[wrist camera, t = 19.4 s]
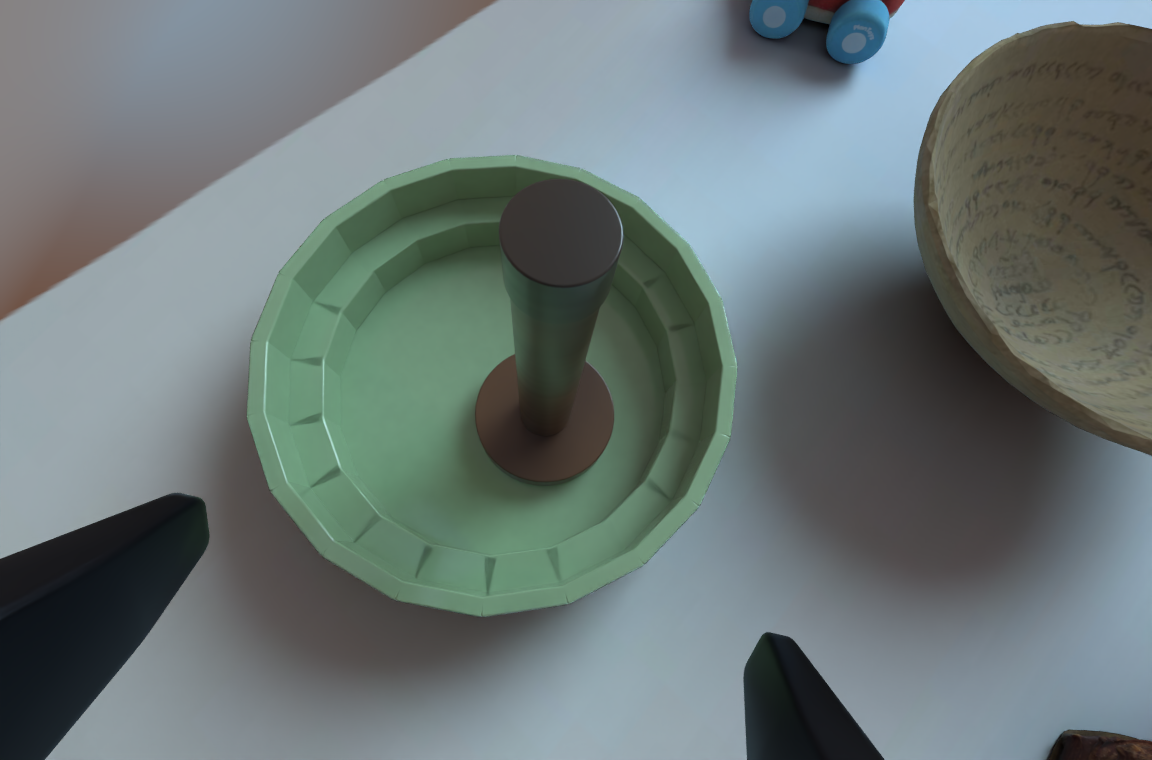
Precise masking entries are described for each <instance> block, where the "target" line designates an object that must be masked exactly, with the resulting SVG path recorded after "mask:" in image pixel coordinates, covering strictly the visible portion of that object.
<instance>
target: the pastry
mask: <svg viewBox="0 0 1152 760" xmlns="http://www.w3.org/2000/svg"><path fill="white" fill-rule="evenodd" d="M1049 760H1152V741H1148V740H1139V739H1136V738H1133V737H1129V736H1125V735H1121V734H1115V733H1109V732H1102V731H1087V730H1067V731H1064V733H1063V735H1062V736H1061V738H1060V739H1059V740H1058V741H1057V743H1056V745H1055V747H1054V749H1053V751H1052V754H1051V756H1050V759H1049Z"/></svg>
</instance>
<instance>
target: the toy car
mask: <svg viewBox="0 0 1152 760" xmlns="http://www.w3.org/2000/svg"><path fill="white" fill-rule="evenodd" d="M903 2H904V0H752V3H751V6H750V14H749V15H750V22H751V24H752V26H753V28H754V29H755V31H756V32H758V33H759V34H760V35H762V36H764V37H767V38H782V37H785V36H787V35H789V34H791V33H792V32H793V31H794V30H796V29H797V28H798V27H799V25H800V24H801V22H802V20H803V18H806V19H809V20H813V21H817V22H821V23H826V24H830V26H829V30H828V34H827V39H826V45H827V50H828V53H829V54H830V56H831V57H832V58H834V59H835V60H837V61H839V62H841V63H846V64H855V63H860V62H863V61H865V60H867V59H869V58H871V57H872V56H873V55H874V54H876V52H877V51H878V50H879V49H880V48H881V46H882V45H883V43H884V41H885V38H886V34H887V29H888V24H889V19H890V18H891V17H892V16H893V15H894V14H895V13H896V12H897V11H898V9H899V7H900V6H901V5H902V3H903Z"/></svg>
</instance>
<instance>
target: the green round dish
mask: <svg viewBox="0 0 1152 760" xmlns="http://www.w3.org/2000/svg"><path fill="white" fill-rule="evenodd" d="M549 179H569V180H575V181H578V182H582V183H584V184H587V185H589V186H591V187H593V188H595V189H596V190H598V191H599V192H601V193H602V194H603V195H604V196H605V197H606V198H608V199H609V201H610V202H611V203H612V204H613V206H614V207H615V209H616V210H617V212H618V214H619V216H620V219H621V222H622V225H623V231H624V241H623V247H622V251H621V254H620V257H619V261H618V264H617V268H616V271H615V274H614V278H613V281H612V285H611V288H610V291H609V294H608V296H607V298H606V300H605V301H604V303H603V304H602V305H601V306H600V309H599V313H598V317H597V320H596V324H595V328H594V331H593V335H592V338H591V342H590V346H589V349H588V353H587V357H586V361H587V362H588V363H590V364H591V365H592V366H593V367H594V368H595V369H596V370H597V371H598V372H599V373H600V375H601V376H602V377H603V379H604V380H605V382H606V384H607V386H608V388H609V390H610V393H611V396H612V400H613V404H614V426H613V431H612V434H611V438H610V440H609V442H608V445H607V446H606V448H605V450H604V451H603V453H602V455H601V456H600V457H599V459H598V460H597V461H596V462H595V464H594V465H593V466H592V467H591V468H590V469H588V470H587V471H586V472H585V473H583V474H582V475H581V476H579V477H577V478H575V479H573V480H571V481H568V482H565V483H562V484H558V485H551V486H537V485H531V484H526V483H523V482H520V481H518V480H516V479H513V478H511V477H510V476H508V475H507V474H505V473H504V472H502V471H501V470H500V469H499V468H498V467H497V466H496V465H495V464H494V463H493V462H492V461H491V459H490V458H489V457H488V455H487V454H486V452H485V450H484V448H483V446H482V444H481V442H480V439H479V436H478V433H477V429H476V424H475V406H476V401H477V396H478V394H479V391H480V388H481V386H482V384H483V382H484V381H485V379H486V378H487V376H488V375H489V373H490V372H491V371H492V370H493V369H494V368H495V367H496V366H497V365H498V364H499V363H501V362H502V361H503V360H505V359H506V358H508V357H509V356H511V355H513V354H515V347H514V336H513V325H512V314H511V302H510V297H509V295H508V293H507V291H506V288H505V285H504V280H503V271H502V262H501V252H500V243H499V222H500V218H501V215H502V213H503V211H504V209H505V207H506V205H507V204H508V203H509V201H510V200H511V199H512V198H513V197H514V196H515V195H516V194H517V193H518V192H519V191H521V190H522V189H524V188H525V187H527V186H529V185H531V184H534V183H536V182H539V181H543V180H549ZM251 341H252V342H251V343H250V360H249V379H248V398H247V420H248V424H249V427H250V430H251V433H252V436H253V440H254V443H255V446H256V449H257V452H258V455H259V459H260V462H261V465H262V468H263V471H264V475H265V478H266V481H267V484H268V487H269V490H270V491H271V493H272V495H273V496H274V497H275V499H276V500H277V501H278V502H279V504H280V505H281V506H282V507H283V509H284V510H285V511H286V512H287V514H288V515H289V516H290V518H291V519H292V520H293V521H294V523H295V524H296V525H297V526H298V528H299V529H300V530H301V531H302V533H303V534H304V535H305V537H306V538H307V539H308V540H309V542H310V543H311V544H312V545H313V547H314V548H315V549H316V550H317V552H318V553H319V554H320V555H322V557H323V558H325V559H326V560H328V561H330V562H331V563H333V564H335V565H336V566H338V567H340V568H341V569H343V570H345V571H346V572H348V573H349V574H351V575H353V576H354V577H356V578H358V579H359V580H361V581H363V582H364V583H366V584H368V585H369V586H371V587H373V588H374V589H376V590H378V591H379V592H381V593H383V594H384V595H386V596H388V597H389V598H391V599H393V600H396V601H399V602H404V603H409V604H414V605H419V606H425V607H430V608H435V609H440V610H445V611H450V612H455V613H461V614H466V615H471V616H476V617H481V616H482V617H488V616H495V615H502V614H509V613H515V612H522V611H529V610H536V609H543V608H549V607H556V606H563V605H567V604H571V603H573V602H575V601H576V600H578V599H580V598H582V597H584V596H586V595H588V594H590V593H592V592H594V591H596V590H598V589H600V588H601V587H603V586H605V585H607V584H609V583H611V582H613V581H615V580H617V579H619V578H621V577H623V576H625V575H626V574H628V573H630V572H632V571H634V570H636V569H638V568H640V567H642V566H643V564H646V563H647V562H648V561H649V560H650V558H651V557H652V556H653V555H654V554H655V553H656V552H657V551H658V550H659V549H660V548H661V547H662V546H663V545H664V544H665V543H666V542H667V541H668V539H669V538H670V537H671V536H672V535H673V534H674V533H675V532H676V531H677V530H678V529H679V528H680V527H681V526H682V525H683V524H684V523H685V522H686V521H687V519H688V518H689V517H690V516H691V515H692V514H693V513H694V512H695V511H696V510H697V509H698V506H700V505H701V502H702V500H703V498H704V496H705V494H706V491H707V489H708V487H709V485H710V483H711V480H712V478H713V476H714V474H715V472H716V469H717V467H718V465H719V463H720V461H721V458H722V456H723V454H724V452H725V450H726V447H727V445H728V443H729V441H730V437H731V430H732V420H733V409H734V399H735V389H736V378H737V361H736V357H735V353H734V348H733V344H732V340H731V335H730V331H729V327H728V322H727V318H726V314H725V309H724V305H723V301H722V298H721V297H720V295H719V293H718V292H717V290H716V288H715V287H714V285H713V283H712V281H711V280H710V278H709V276H708V275H707V273H706V271H705V270H704V268H703V266H702V265H701V263H700V261H699V260H698V258H697V256H696V254H695V253H694V251H693V249H692V248H691V246H690V244H689V243H687V241H686V240H685V239H684V238H682V237H681V236H680V235H679V234H678V233H677V232H676V231H675V230H674V229H673V228H672V227H671V226H669V225H668V224H667V223H666V222H665V221H664V220H663V219H662V218H661V217H660V216H659V215H658V214H656V213H655V212H654V211H653V210H652V209H651V208H650V207H649V206H648V205H647V204H646V203H644V202H643V201H642V200H641V199H640V198H639V197H637V196H635V195H633V194H631V193H629V192H627V191H625V190H623V189H621V188H619V187H617V186H615V185H613V184H611V183H609V182H607V181H605V180H603V179H601V178H599V177H597V176H595V175H593V174H591V173H589V172H588V171H586V170H584V169H580V168H576V167H572V166H567V165H562V164H557V163H552V162H548V161H543V160H538V159H533V158H528V157H524V156H519V155H517V156H515V155H506V156H487V157H468V158H450V159H449V160H448V159H446V160H442V161H439V162H436V163H433V164H430V165H427V166H424V167H421V168H418V169H415V170H412V171H409V172H405V173H402V174H399V175H396V176H393V177H390V178H387V179H384V181H380V182H379V183H377V184H376V185H374V186H373V187H371V188H370V189H368V190H367V191H365V192H364V193H362V194H361V195H359V196H358V197H356V198H355V199H353V200H352V201H350V202H349V203H347V204H346V205H344V206H342V207H341V208H339V209H338V210H336V211H335V212H333V213H332V214H330V215H329V216H327V217H326V218H325V219H323V220H322V221H321V223H320V224H319V225H318V226H317V227H316V229H315V230H314V231H313V232H312V233H311V235H310V236H309V237H308V238H307V239H306V240H305V242H304V243H303V244H302V245H301V246H300V248H299V249H298V250H297V251H296V252H295V253H294V255H293V256H292V257H291V258H290V259H289V261H288V262H287V263H286V264H285V265H284V267H283V268H282V269H281V270H280V271H279V274H278V275H277V278H276V280H275V282H274V285H273V287H272V290H271V292H270V295H269V297H268V299H267V302H266V304H265V307H264V309H263V312H262V314H261V317H260V319H259V321H258V324H257V326H256V329H255V331H254V334H253V336H252V339H251Z"/></svg>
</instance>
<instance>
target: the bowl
mask: <svg viewBox="0 0 1152 760" xmlns="http://www.w3.org/2000/svg"><path fill="white" fill-rule="evenodd" d="M914 218H915V228H916V234H917V241H918V246H919V250H920V253H921V256H922V260H923V263H924V267H925V270H926V272H927V275H928V277H929V279H930V281H931V283H932V285H933V288H934V290H935V292H936V294H937V296H938V298H939V300H940V302H941V304H942V306H943V307H944V309H945V311H946V313H947V315H948V316H949V318H950V319H951V321H952V322H953V324H954V326H955V327H956V329H957V330H958V331H959V332H960V334H961V335H962V336H963V337H964V338H965V340H966V341H967V342H968V343H969V345H970V346H971V347H972V348H973V349H974V350H975V351H976V352H977V353H978V354H979V355H980V356H981V357H982V358H983V359H984V361H985V362H986V363H987V364H988V365H989V366H991V367H992V368H993V369H994V370H995V371H996V372H997V373H998V374H999V375H1000V376H1001V377H1003V378H1004V379H1005V380H1006V381H1007V382H1008V383H1009V384H1010V385H1012V386H1013V387H1015V388H1016V389H1017V390H1019V391H1020V392H1021V393H1023V394H1024V395H1026V396H1027V397H1028V398H1030V399H1031V400H1032V401H1034V402H1035V403H1037V404H1038V405H1040V406H1041V407H1043V408H1045V409H1046V410H1048V411H1050V412H1051V413H1053V414H1055V415H1056V416H1058V417H1060V418H1062V419H1063V420H1065V421H1067V422H1069V423H1071V424H1072V425H1074V426H1076V427H1078V428H1080V429H1083V430H1085V431H1087V432H1090V433H1092V434H1094V435H1097V436H1099V437H1101V438H1104V439H1107V440H1109V441H1112V442H1115V443H1117V444H1120V445H1123V446H1126V447H1129V448H1132V449H1134V450H1137V451H1140V452H1143V453H1146V454H1149V455H1151V456H1152V29H1149V28H1144V27H1140V26H1135V25H1130V24H1124V23H1119V22H1117V23H1110V24H1104V25H1079V24H1077V23H1076V22H1074V21H1071V22H1063V23H1056V24H1050V25H1045V26H1041V27H1038V28H1035V29H1032V30H1029V31H1026V32H1023V33H1017V34H1015V35H1013V36H1011V37H1009V38H1006V39H1004V40H1001V41H999V42H998V43H996V44H994V45H993V46H991V47H990V48H988V49H987V50H985V51H984V52H982V53H981V54H980V55H978V56H977V57H976V58H974V59H973V60H972V61H971V62H970V63H969V64H968V65H967V66H966V67H965V68H964V69H963V70H962V71H961V72H960V73H959V74H958V76H957V77H956V78H955V79H954V80H953V82H952V83H951V84H950V85H949V86H948V88H947V89H946V90H945V91H944V92H943V94H942V95H941V96H940V98H939V100H938V102H937V104H936V106H935V107H934V109H933V111H932V113H931V115H930V118H929V121H928V124H927V127H926V130H925V133H924V137H923V140H922V144H921V147H920V151H919V155H918V161H917V169H916V177H915V187H914Z"/></svg>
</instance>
